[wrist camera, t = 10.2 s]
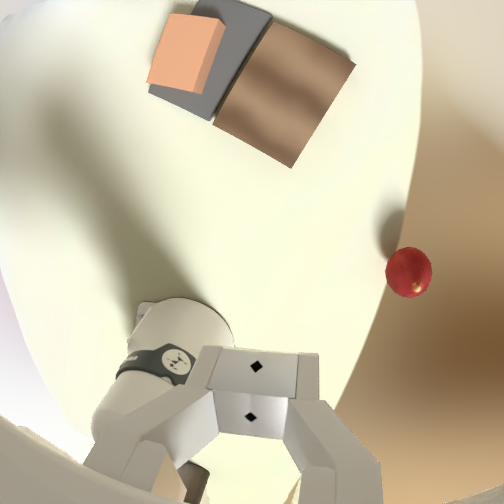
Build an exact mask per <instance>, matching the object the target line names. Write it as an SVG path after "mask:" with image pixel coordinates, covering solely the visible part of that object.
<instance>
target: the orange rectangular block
mask: <svg viewBox="0 0 504 504" xmlns="http://www.w3.org/2000/svg"><path fill="white" fill-rule="evenodd" d="M225 28H226V26H225V25H224V24H223V23H222V22H221V21H220V20H219V19H216V18H209V17H202V16H194V15H185V14H174V13H170V16H169V18H168V21H167V23H166V26H165V28H164V31H163V34H162V36H161V39H160V42H159V45H158V47H157V50H156V53H155V56H154V59H153V62H152V65H151V68H150V71H149V75H148V78H147V81H146V83H151V84H156V85H161V86H166V87H171V88H176V89H181V90H185V91H189V92H194V93H198V94H202V92H203V89H204V86H205V83H206V80H207V77H208V74H209V72H210V69H211V66H212V63H213V60H214V57H215V55H216V52H217V49H218V47H219V44H220V41H221V39H222V36H223V33H224V31H225Z"/></svg>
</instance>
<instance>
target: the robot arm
mask: <svg viewBox="0 0 504 504" xmlns="http://www.w3.org/2000/svg"><path fill="white" fill-rule="evenodd" d="M127 343H128V357H127V359H126V360H125V361H124V362H123V363H122V364H121V366H120V369H119V371H118V372H117V374H116V381H115V382H114V384H113V385H112V387H111V388H110V389H109V391H108V392H107V394H106V395H105V397H104V398H103V400H102V401H101V403H100V404H99V406H98V407H97V409H96V410H95V412H94V414H93V417H92V424H91V429H92V435H93V438H94V440H95V442H96V443H95V444H94V446H93V448H92V449H91V451H90V453H89V455H88V456H87V458H86V460H85V461H84V463H83V465H82V464H80V463H78V462H77V461H76V460H75V459H73V458H72V457H71V456H69V455H68V454H67V453H66V452H64V451H63V450H61V449H59V448H58V447H56V446H55V445H53V444H51V443H50V442H48V441H47V440H45V439H44V438H42V437H40V436H39V435H38V434H36V433H35V432H33V431H31V430H30V429H28V428H27V427H22V426H15V425H14V424H13V423H11V422H10V421H8V420H7V419H6V418H4V417H3V416H1V415H0V504H189V503H185V502H183V501H184V498H185V495H186V492H187V489H186V487H185V485H184V484H183V482H182V480H181V478H180V476H179V474H178V472H177V469H178V468H180V467H181V466H182V465H183V464H184V463H186V462H187V461H188V460H189V459H191V458H192V457H193V456H194V455H195V454H197V453H198V452H199V451H200V450H201V449H202V448H204V447H205V446H206V445H207V444H208V443H209V442H211V441H212V440H213V439H214V438H215V437H216V436H217V435H218V434H219V432H222V433H230V434H238V435H247V436H255V437H262V438H271V439H280V440H283V442H284V444H285V446H286V448H287V449H288V451H289V453H290V455H291V457H292V458H293V460H294V462H295V464H296V466H297V467H298V469H299V471H300V473H301V476H300V479H299V482H298V485H297V488H296V491H295V494H294V496H293V499H292V502H291V504H383V491H382V479H381V478H382V477H381V467H380V463H379V462H378V461H377V460H376V459H375V457H374V456H373V455H372V454H371V453H370V452H369V451H368V450H367V448H366V447H365V446H364V445H363V444H362V443H361V442H360V440H359V439H358V438H357V437H356V436H355V435H354V434H353V432H352V431H351V430H350V429H349V428H348V427H347V426H346V424H345V423H344V422H343V421H342V420H341V419H340V417H339V416H338V415H337V414H336V413H335V411H334V410H333V409H332V408H331V407H330V406H329V404H328V403H327V402H326V401H325V400H319V355H318V353H299V354H298V353H293V352H277V351H264V350H254V349H246V348H238V347H234V341H233V336H232V333H231V331H230V329H229V327H228V325H227V324H226V323H225V321H224V320H223V319H222V318H221V317H220V316H219V315H218V314H217V313H216V312H214V311H213V310H212V309H210V308H209V307H207V306H205V305H203V304H201V303H199V302H196V301H194V300H190V299H185V298H170V299H166V300H163V301H161V302H158V303H152V302H142V303H140V305H139V306H138V309H137V318H136V328H135V329H134V330H133V332H132V333H131V335H130V336H129V338H128V340H127ZM442 504H504V483H502V484H500V485H497V486H495V487H492V488H490V489H487V490H484V491H482V492H479V493H476V494H473V495H470V496H467V497H464V498H460V499H457V500H453V501H450V502H446V503H442Z"/></svg>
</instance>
